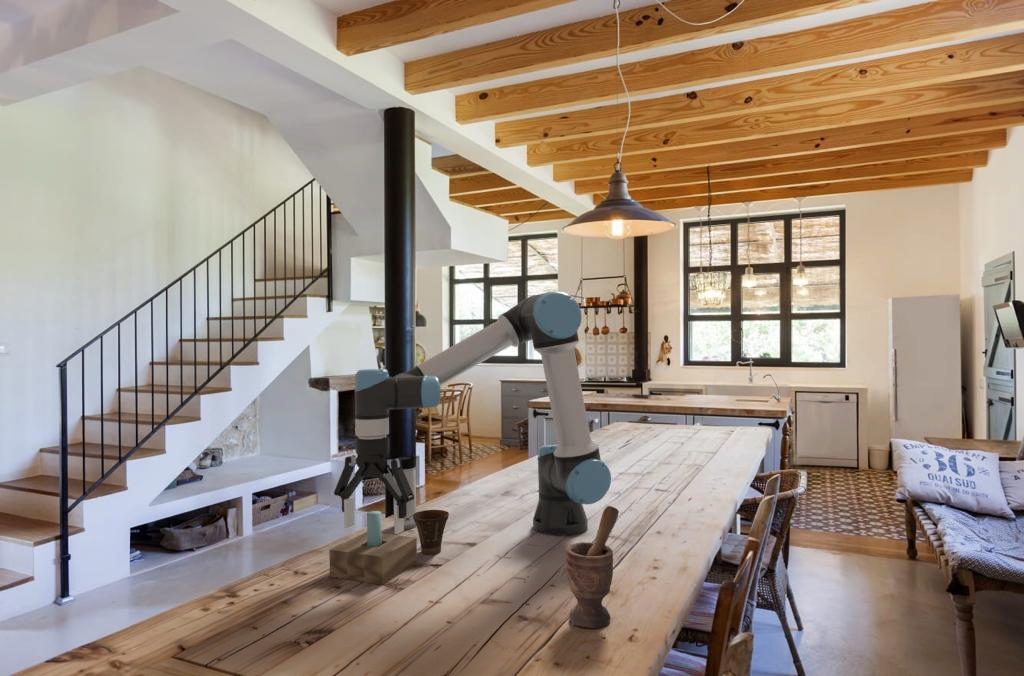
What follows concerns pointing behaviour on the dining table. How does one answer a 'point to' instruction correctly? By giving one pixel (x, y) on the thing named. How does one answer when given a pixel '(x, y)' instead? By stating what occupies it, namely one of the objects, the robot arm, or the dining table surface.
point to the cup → (430, 529)
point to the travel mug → (410, 474)
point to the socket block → (373, 558)
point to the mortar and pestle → (592, 574)
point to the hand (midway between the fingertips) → (373, 529)
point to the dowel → (374, 529)
